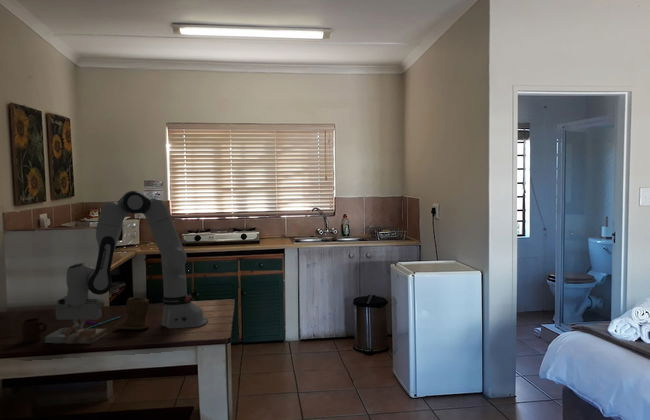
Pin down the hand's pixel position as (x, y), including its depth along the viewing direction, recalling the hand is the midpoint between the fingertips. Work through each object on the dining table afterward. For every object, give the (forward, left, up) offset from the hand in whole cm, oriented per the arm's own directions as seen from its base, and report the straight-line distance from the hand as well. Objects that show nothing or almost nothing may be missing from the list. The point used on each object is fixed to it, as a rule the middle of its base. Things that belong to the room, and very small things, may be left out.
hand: (79, 328), depth 235 cm
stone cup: (-20, -13, -4) cm, 24 cm away
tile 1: (+3, 0, -1) cm, 4 cm away
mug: (+17, +6, -4) cm, 18 cm away
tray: (+6, +3, -4) cm, 8 cm away
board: (-5, +3, -4) cm, 7 cm away
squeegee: (+5, -21, -5) cm, 22 cm away
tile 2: (-7, +6, -1) cm, 9 cm away
